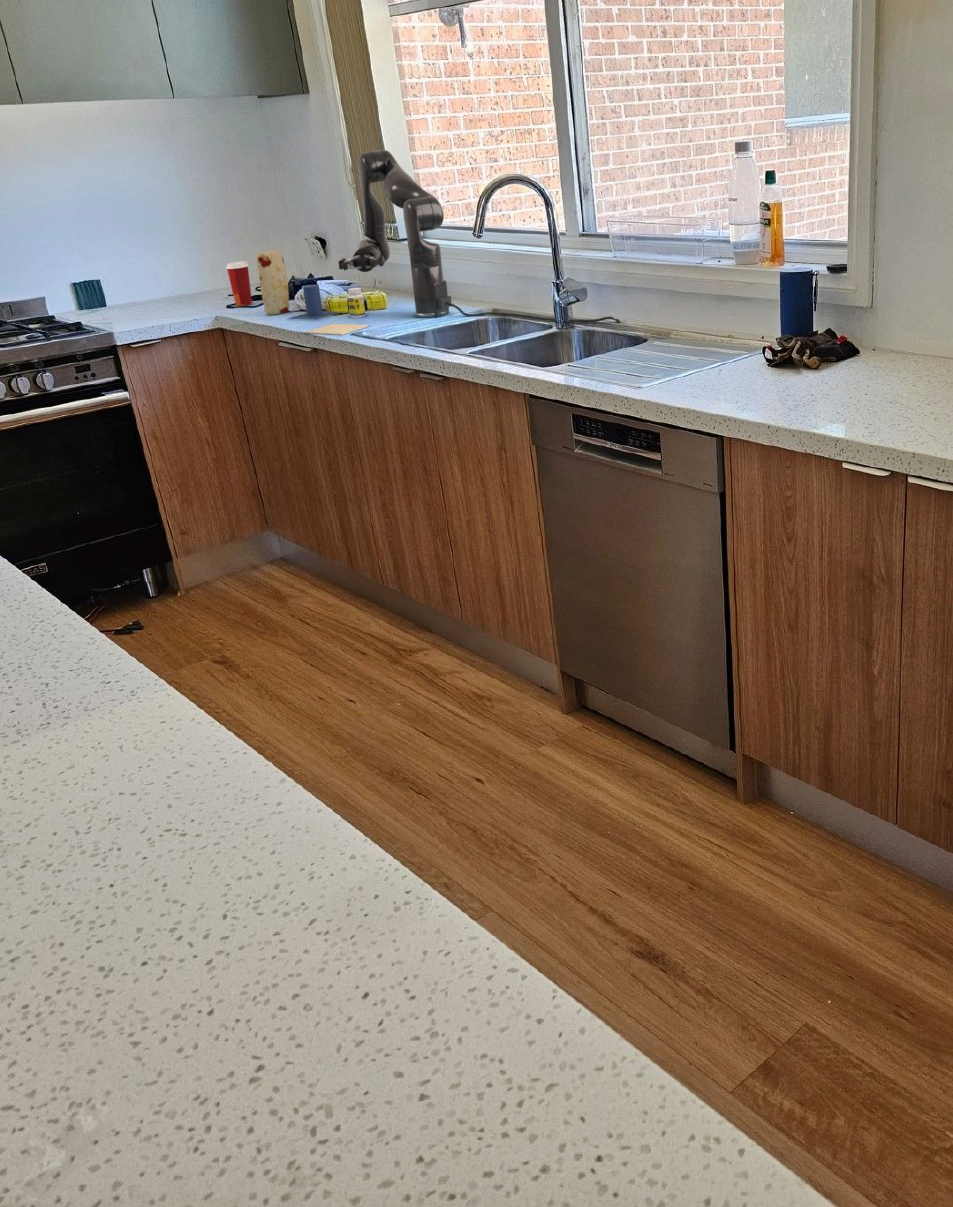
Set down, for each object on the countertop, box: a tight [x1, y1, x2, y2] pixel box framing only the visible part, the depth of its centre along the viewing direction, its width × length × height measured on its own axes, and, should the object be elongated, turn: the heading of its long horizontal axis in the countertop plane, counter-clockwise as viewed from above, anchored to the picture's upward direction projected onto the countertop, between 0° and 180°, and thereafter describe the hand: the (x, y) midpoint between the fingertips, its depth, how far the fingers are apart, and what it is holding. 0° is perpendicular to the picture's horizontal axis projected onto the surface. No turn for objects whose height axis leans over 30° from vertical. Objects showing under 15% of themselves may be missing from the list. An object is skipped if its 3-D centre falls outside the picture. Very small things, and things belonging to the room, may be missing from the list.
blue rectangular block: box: [302, 284, 324, 317], centre depth 338 cm, size 5×5×9 cm
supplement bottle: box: [347, 287, 366, 318], centre depth 331 cm, size 5×5×8 cm
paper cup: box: [225, 260, 253, 307], centre depth 370 cm, size 8×8×14 cm
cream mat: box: [305, 323, 369, 336], centre depth 316 cm, size 14×12×1 cm
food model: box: [256, 249, 290, 316], centre depth 345 cm, size 10×7×20 cm
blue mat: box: [288, 310, 342, 321], centre depth 340 cm, size 12×12×1 cm
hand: (358, 266), depth 337 cm, fingers open, 8 cm apart
